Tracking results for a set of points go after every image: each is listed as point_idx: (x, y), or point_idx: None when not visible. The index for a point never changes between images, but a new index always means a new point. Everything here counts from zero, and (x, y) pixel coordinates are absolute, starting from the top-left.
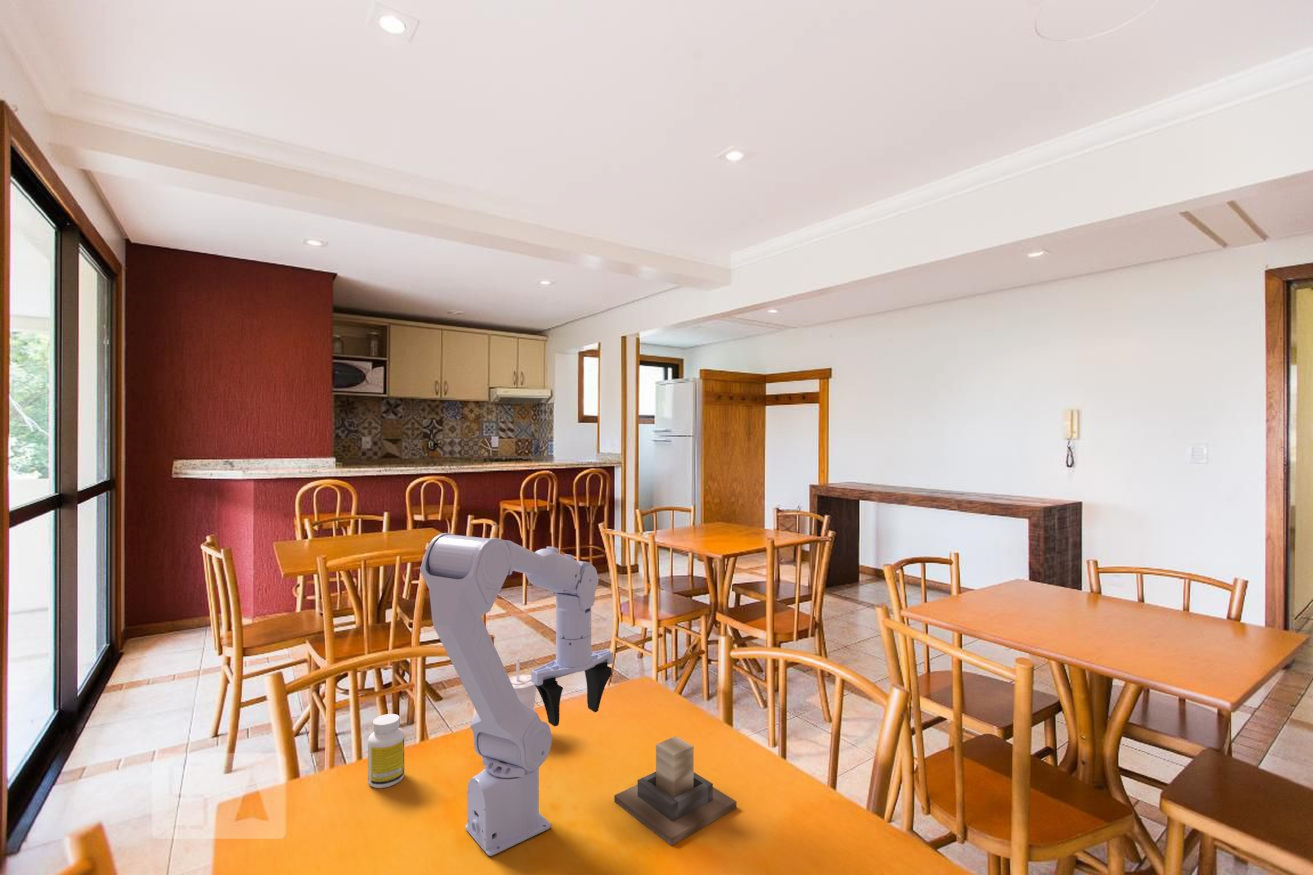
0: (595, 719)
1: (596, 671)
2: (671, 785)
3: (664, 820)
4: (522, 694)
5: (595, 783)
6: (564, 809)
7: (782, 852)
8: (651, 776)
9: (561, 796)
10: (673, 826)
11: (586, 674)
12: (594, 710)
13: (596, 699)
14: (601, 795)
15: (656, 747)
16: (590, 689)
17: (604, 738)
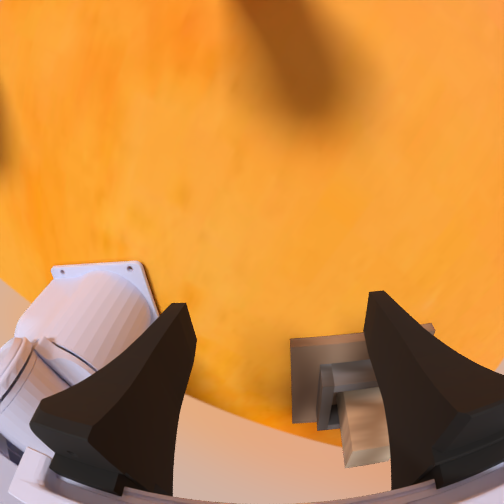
0: (458, 30)
1: (406, 482)
2: (340, 423)
3: (310, 406)
4: None
5: (295, 279)
6: (203, 312)
7: None
8: (348, 387)
9: (213, 279)
10: (309, 415)
11: (429, 393)
12: (365, 332)
13: (376, 375)
14: (282, 315)
15: (351, 447)
16: (396, 361)
17: (430, 125)
